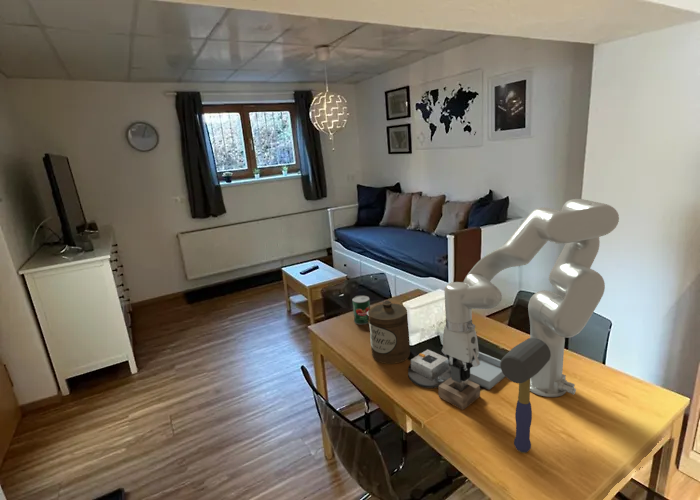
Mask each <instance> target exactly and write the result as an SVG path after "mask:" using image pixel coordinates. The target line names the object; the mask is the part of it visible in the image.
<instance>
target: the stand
mask: <svg viewBox="0 0 700 500" xmlns="http://www.w3.org/2000/svg"><path fill="white" fill-rule="evenodd" d="M437 389H438V398H440V399H442V400H444V401H445V402H447V403H449V404H451V405H453V406H454V407H456V408H459V409H460V410H461V411H463V410H466V408H468V407H469V406H470V405H472V404H473V403H474V402H475V401H476V400H477V399H479V398H480V397H481V386H480V385H478V384H476V383H474V382H472V381H470V380H468V387H467V388H466V389H464V390H463V391H462V392H460V391H458V390H456V389H455V385H454V380H452V379H451V377H450V378H449V379H448V380H446V381H445V382H443V383H442V384H441V385H439V386H438V388H437Z"/></svg>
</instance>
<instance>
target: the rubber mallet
mask: <svg viewBox="0 0 700 500" xmlns="http://www.w3.org/2000/svg"><path fill="white" fill-rule="evenodd" d="M550 357H551V353H550V349H549V347H548V346H547V345H546V343H544V342H543V341H542V340H540V339H538V338H530V337H529V338H527V339H525V340H523V341H522V342H520V343H519V344H517V345H515V346H513V347H512V348H511V349H510V350H509V351H508V352H507V353H505V355H504V356H503V357H502V358H501V359H500V360H501V363H500V367H501V370H502V372H503V374H504V375H505V377H504V378H507V379H508V380H509V381H511V382H512V383H515V384H518V395H517V397H518V398H517V402H516V405H515V407H516V408H515V415H514V416H515V417H514V418H515V438H514V440H513V445H514V447H515V449H516V451H517V452H519V453H520V454H527V453H528V452H529V451H530V450H531V449H532V443H531V439H530V438H531V437H530V436H531V427H532V426H531V425H532V422H533V421H532V419H533V412H532V404H531V403H532V402H531V400H530V399H531V395H530V394H531V391H530V378H532V377H533V376H534V375H536V374H537V373H538V372H539V371H540V370H541V369H542V368H543V367H544V366H545V365H546V363H547V362H548V361H549V360H550Z"/></svg>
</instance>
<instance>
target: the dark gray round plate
mask: <svg viewBox="0 0 700 500" xmlns="http://www.w3.org/2000/svg"><path fill="white" fill-rule="evenodd" d="M407 375H408V378H409V380H410V381H411V383H413V384H415V385H416V386H418V387H421V388H425V389H438V386H439V385H441V384H442V383H443V382H445V381H446V380H448V379H449V378H450V377H451V364H449V369H448V370H446V371H445V372H443V373H442V374H440V375H439V376H437V377H436V378H434V379H433V380H431V379H429V378H427V377H425V376H423V375H421V374H419V373H417V372H415V371H413V370H411V363H410V364H409V366H408V368H407Z"/></svg>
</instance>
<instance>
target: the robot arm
mask: <svg viewBox="0 0 700 500" xmlns="http://www.w3.org/2000/svg"><path fill="white" fill-rule="evenodd" d="M619 220H620V216H619V212H618V210H617V209H616V208H614V207H613V206H612V205H610V204H606V203H602V202H597V201H592V200H588V199H585V198H584V199H583V198H574V199H569V200H566V201H565V203H564V204H563V205H562V208H561V210H557V209H554V208H550V207H543V206H542V207H536V208H534V209H533V210H532V211H531V212H530V213H529V214H528V215H527V216H526V218H524V220H523V221H522V223H520V225H519V226H518V227H517V228H516V229H515V231H514V232H513V233H512V234H511V235H510V237H509V238H508V239H507V240H506V241H505V243H503V245H501V246H500V247H498V248H496V249H495V250H493V251H491V252H490V253H488V254H486V255H484V256H483V257H482V258H481V259H479V260H478V261H477V262H476V263H475V264H474V265H473V267H472V268H471V269H470V271H469V272H468V273H467V275H466V276H465V278H464V280H463V281H454V282H449V283H448V284H446V286H445V287H444V308H445V309H444V310H445V311H444V313H445V325H444V328H443V334H442V335H443V337H442V349H441V353H443V354H444V356H445V357H446V358H448V362H449V365H450V366H451V365H452V364H453V363H454V362H456V361H457V360H461V361H462V363H463V369H462V381H466V380H467V379H468V378H470V368H471V367H477V366H479V365H480V362H479V360H478V356H479V352H480V350H479V341H478V336H477V332H476V329H475V328H476V324H474V323H473V312H472V311H473V309H476V310H489V309H494V308H497V306H499V305H500V304H501V302H502V300H503V295H502V291H501V290H500V289H499V287H498V286H496V285H495V284H494V283H492V280H493V279H494V278H495V277H496V276H497V275H498V274H499V273H501V272H502V271H504V270H506V269H509V268H516V267H520V266H522V267H523V266H527V265H528V264H529V263H530V262H531V261H532V260H533V259H534V258H535V256H536V255H537V254H538V253H539V252H540V251H541V249H542V248H543V247H544V246H545V245H546V244H547V243H548V242H551V243H554V244H559V245H560V244H561V245H563V244H564V246H563V248H562V250H561V252H560V254H559V255H558V258H557V259H556V261H555V263H554V265H553V267H552V268H551V271H550V273H549V275H548V276H549V277H548V280H549V283H550V284H551V286H552V287H554V288H555V289H556V290H557V291H559V292H561V293H563V294H565V295H564V297H563V296H561V295H559V294H558V293H556V292H553V291H550V290H544V289H543V290H539V291H537V292H535V293H534V294H533V295H532V296H531V297H530V298H529V301H528V305H527V308H528V309H527V310H528V317H529V325H530V326H529V327H530V329H529V330H530V332H529V333H530V335H529V338H538V339H540V340H542V341H543V342H544V343H546V345H547V346H548V347H549V349H550V353H551V357H550V360H549V361H548V362H547V363H546V365H545V366H544V367H543V368H542V369H541V370H540V371H539V372H538V373H537V374H536V375H534V376H533V377H532V378H530V393H534V394H535V395H538V396H541V397H542V396H543V397H546V398H557V397H561V396H563V395H565V394H566V393H568V394H571V395H575V394H576V391H577V388H575V385H576V384H575V383H572V382H569V381H568V380H567V379H566V374H563V368H564V355H565V353H564V352H565V342H566V338H567V339H568V338H573V337H575V336H577V335H578V334H579V333H581V332H582V330H583V329H584V328H585V326H587V324H588V322H589V321H590V318H591V317H592V316H593V313H594V312H595V310H596V309H597V307H598V305H599V303H600V302H601V300H602V297H603V296H604V293H605V288H606V287H605V285H606V283H605V279H604V278H603V276H602V275H601V274H600V273H599V272H597V270H594V269H592V268H591V267H592V266H593V263H594V261H595V259H596V257H597V255H598V253H599V250H600V243H601V242H600V237H603V236H607V235H609V234H610V233H612V232H613V231H614V230H615V229H616V228H617V226H618V224H619V222H620V221H619ZM471 360H472V362H471Z"/></svg>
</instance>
